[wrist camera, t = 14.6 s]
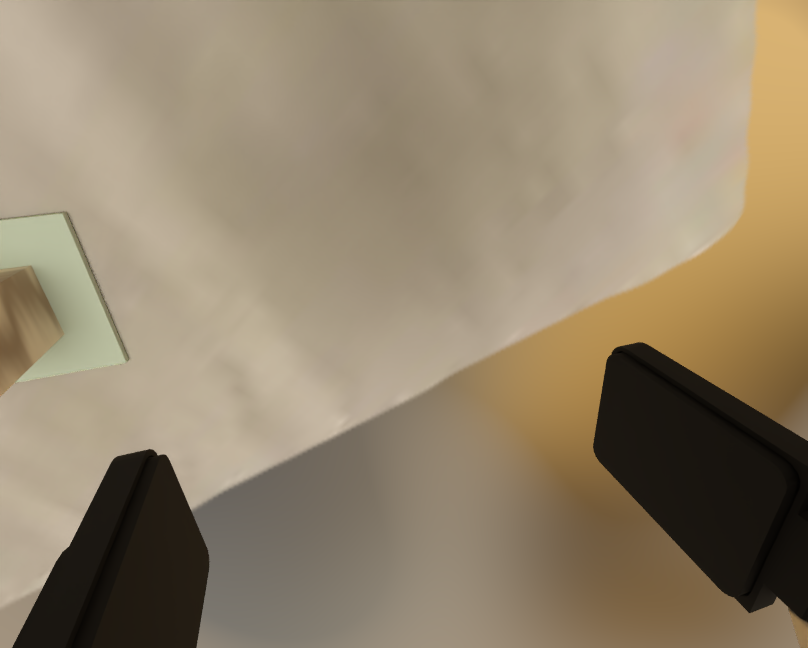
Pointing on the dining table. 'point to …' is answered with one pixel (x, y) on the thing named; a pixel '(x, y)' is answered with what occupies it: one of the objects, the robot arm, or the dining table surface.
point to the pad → (63, 294)
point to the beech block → (23, 324)
